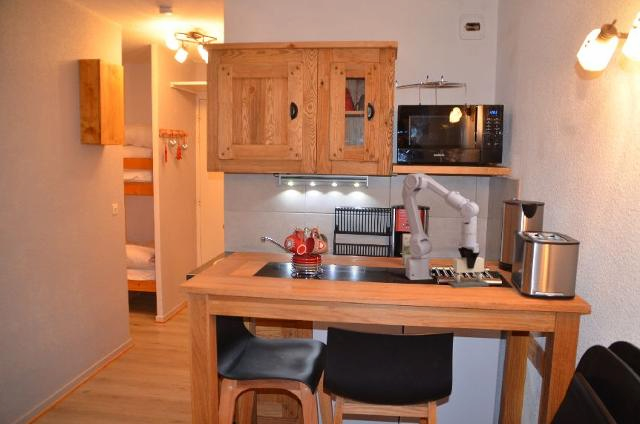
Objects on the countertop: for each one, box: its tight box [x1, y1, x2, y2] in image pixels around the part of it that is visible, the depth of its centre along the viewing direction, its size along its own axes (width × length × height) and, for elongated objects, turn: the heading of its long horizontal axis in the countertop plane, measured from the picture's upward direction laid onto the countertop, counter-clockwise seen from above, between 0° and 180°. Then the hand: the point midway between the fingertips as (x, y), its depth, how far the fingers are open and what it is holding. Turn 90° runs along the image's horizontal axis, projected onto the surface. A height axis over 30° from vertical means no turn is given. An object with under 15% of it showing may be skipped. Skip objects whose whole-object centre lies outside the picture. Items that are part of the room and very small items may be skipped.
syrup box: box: [401, 233, 412, 267], centre depth 232 cm, size 6×6×14 cm
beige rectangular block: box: [452, 256, 485, 274], centre depth 196 cm, size 11×4×5 cm, turn 96°
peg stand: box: [447, 272, 490, 289], centre depth 196 cm, size 14×7×4 cm, turn 96°
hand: (468, 267), depth 196 cm, fingers closed on beige rectangular block, 4 cm apart
